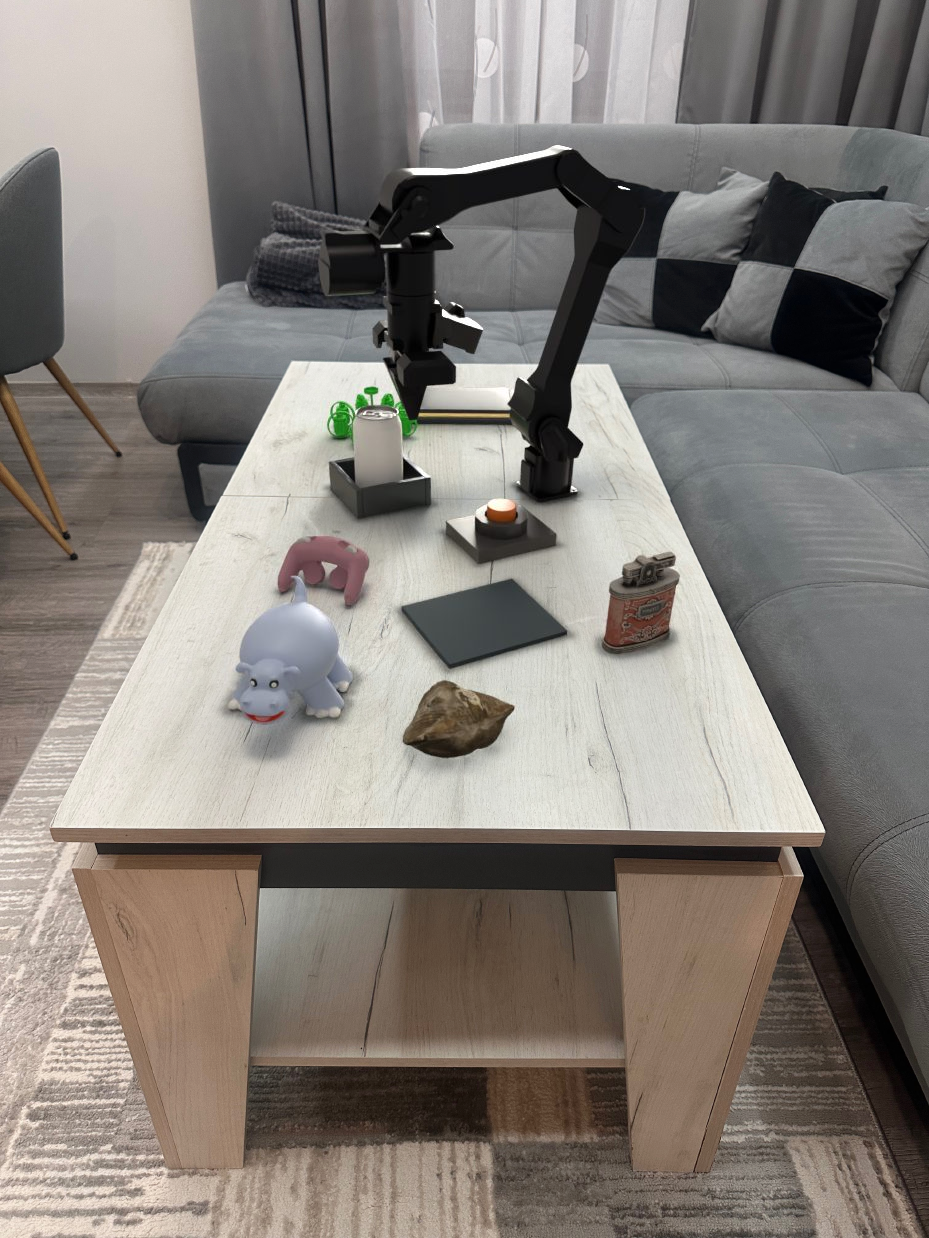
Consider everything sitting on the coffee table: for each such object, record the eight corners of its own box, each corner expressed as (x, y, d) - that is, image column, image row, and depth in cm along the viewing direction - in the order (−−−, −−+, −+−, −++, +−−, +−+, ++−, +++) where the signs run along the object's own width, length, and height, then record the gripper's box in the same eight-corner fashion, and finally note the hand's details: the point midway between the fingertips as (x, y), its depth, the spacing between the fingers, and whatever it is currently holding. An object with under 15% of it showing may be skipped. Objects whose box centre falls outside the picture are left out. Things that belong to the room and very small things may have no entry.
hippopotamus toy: (205, 749, 78) (189, 662, 72) (256, 651, 90) (245, 571, 85) (325, 759, 77) (317, 672, 71) (360, 659, 89) (355, 578, 84)
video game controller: (368, 604, 101) (377, 544, 100) (351, 607, 96) (361, 544, 95) (291, 588, 103) (299, 529, 102) (271, 590, 99) (280, 529, 98)
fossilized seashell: (413, 765, 73) (525, 760, 76) (414, 684, 73) (526, 683, 76) (391, 750, 80) (495, 746, 83) (392, 677, 80) (496, 676, 83)
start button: (506, 508, 112) (507, 496, 111) (520, 520, 109) (521, 507, 108) (481, 514, 110) (482, 501, 109) (495, 526, 108) (496, 513, 107)
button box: (520, 516, 117) (521, 492, 115) (556, 545, 110) (558, 520, 108) (445, 532, 113) (445, 507, 111) (478, 564, 106) (479, 538, 104)
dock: (399, 475, 127) (399, 449, 125) (431, 504, 119) (431, 477, 117) (330, 488, 123) (328, 461, 121) (357, 519, 115) (356, 491, 113)
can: (396, 508, 118) (394, 423, 111) (350, 503, 119) (345, 418, 112) (408, 488, 123) (407, 405, 117) (364, 484, 124) (360, 401, 118)
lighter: (614, 659, 90) (625, 574, 85) (595, 641, 93) (605, 559, 87) (676, 639, 93) (691, 557, 88) (656, 623, 96) (669, 542, 90)
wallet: (520, 384, 156) (523, 415, 143) (519, 395, 157) (523, 426, 144) (407, 382, 156) (400, 412, 143) (407, 392, 157) (401, 423, 144)
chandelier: (309, 442, 137) (304, 400, 133) (353, 409, 148) (349, 368, 145) (397, 456, 133) (395, 412, 129) (435, 420, 144) (434, 379, 140)
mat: (511, 582, 102) (511, 578, 102) (567, 635, 94) (567, 630, 93) (401, 610, 97) (401, 606, 97) (449, 669, 88) (449, 664, 88)
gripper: (501, 307, 97) (495, 441, 106) (455, 271, 112) (453, 391, 121) (403, 312, 94) (405, 449, 103) (369, 274, 109) (373, 397, 118)
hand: (412, 419), depth 111 cm, fingers closed
